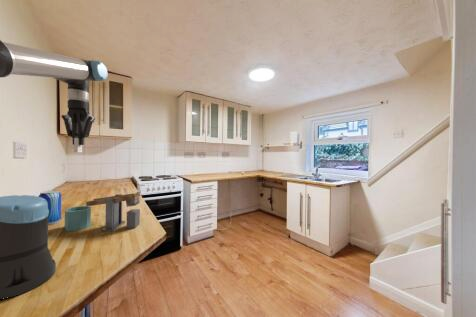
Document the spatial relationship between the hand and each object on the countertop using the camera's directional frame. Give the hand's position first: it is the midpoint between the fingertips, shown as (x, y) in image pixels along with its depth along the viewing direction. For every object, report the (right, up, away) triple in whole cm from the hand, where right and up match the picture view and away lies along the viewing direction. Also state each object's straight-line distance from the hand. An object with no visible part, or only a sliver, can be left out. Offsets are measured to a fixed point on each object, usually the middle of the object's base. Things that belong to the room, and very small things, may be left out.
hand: (78, 152), depth 85 cm
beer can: (-22, -36, +8) cm, 43 cm away
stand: (+13, -37, +6) cm, 39 cm away
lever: (+13, -27, +10) cm, 32 cm away
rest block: (+22, -37, +7) cm, 43 cm away
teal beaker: (-4, -36, +4) cm, 37 cm away
